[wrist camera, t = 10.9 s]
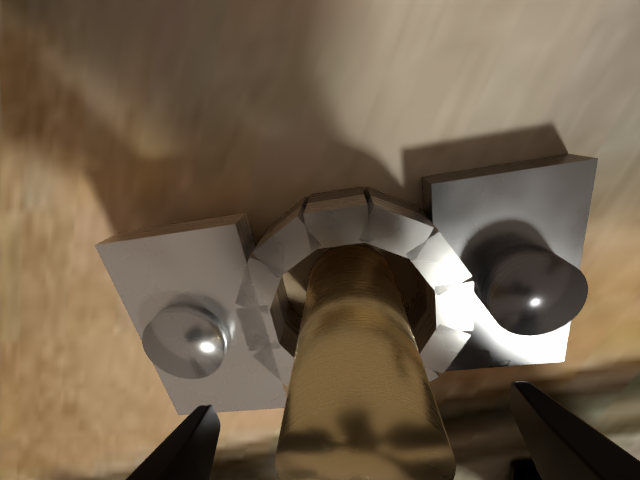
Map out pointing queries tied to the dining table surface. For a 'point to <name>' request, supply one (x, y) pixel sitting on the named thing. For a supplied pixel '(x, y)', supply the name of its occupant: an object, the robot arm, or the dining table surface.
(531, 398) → the robot arm
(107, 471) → the dining table surface
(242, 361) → the upper link
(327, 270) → the pin
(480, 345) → the lower link
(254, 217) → the dining table surface
